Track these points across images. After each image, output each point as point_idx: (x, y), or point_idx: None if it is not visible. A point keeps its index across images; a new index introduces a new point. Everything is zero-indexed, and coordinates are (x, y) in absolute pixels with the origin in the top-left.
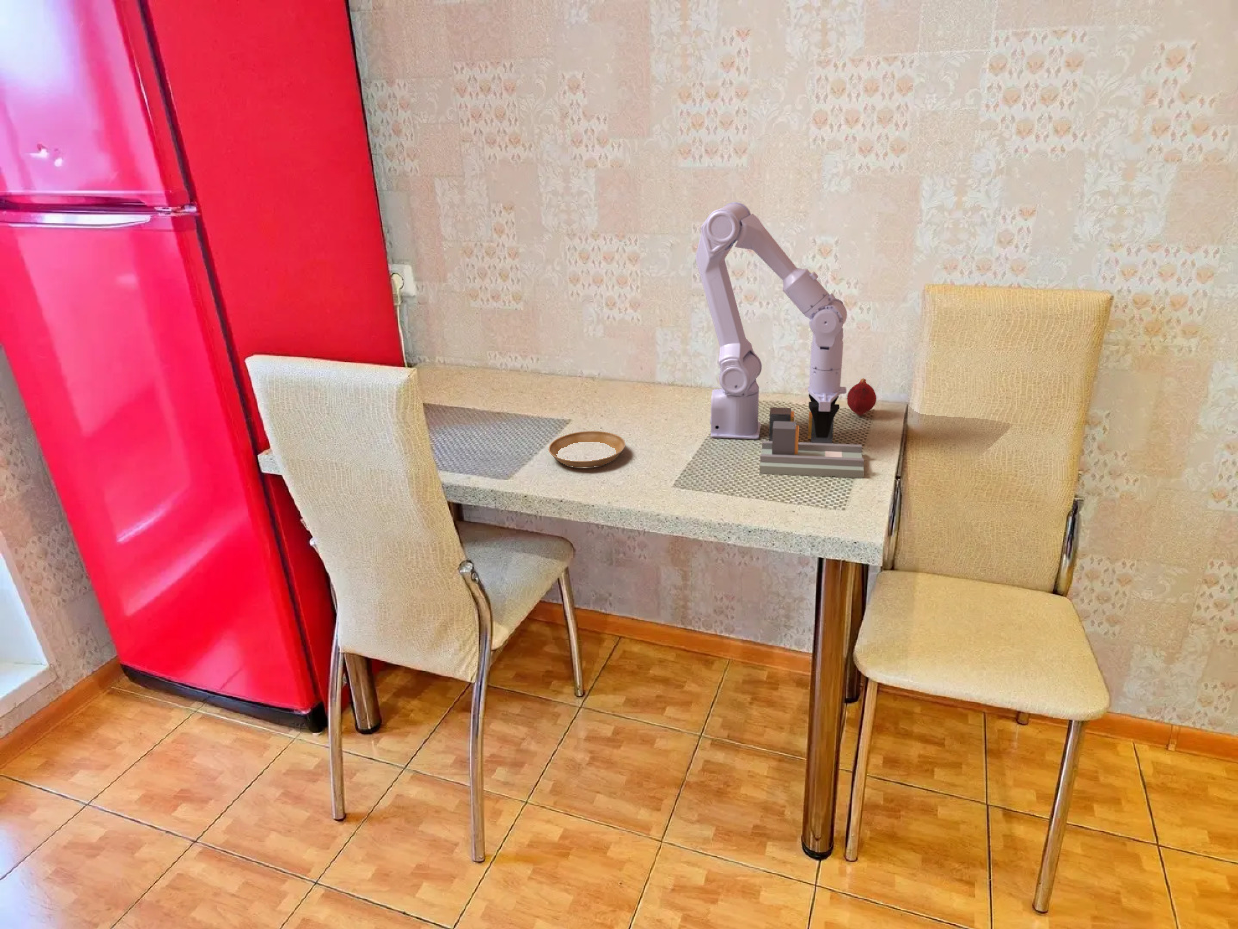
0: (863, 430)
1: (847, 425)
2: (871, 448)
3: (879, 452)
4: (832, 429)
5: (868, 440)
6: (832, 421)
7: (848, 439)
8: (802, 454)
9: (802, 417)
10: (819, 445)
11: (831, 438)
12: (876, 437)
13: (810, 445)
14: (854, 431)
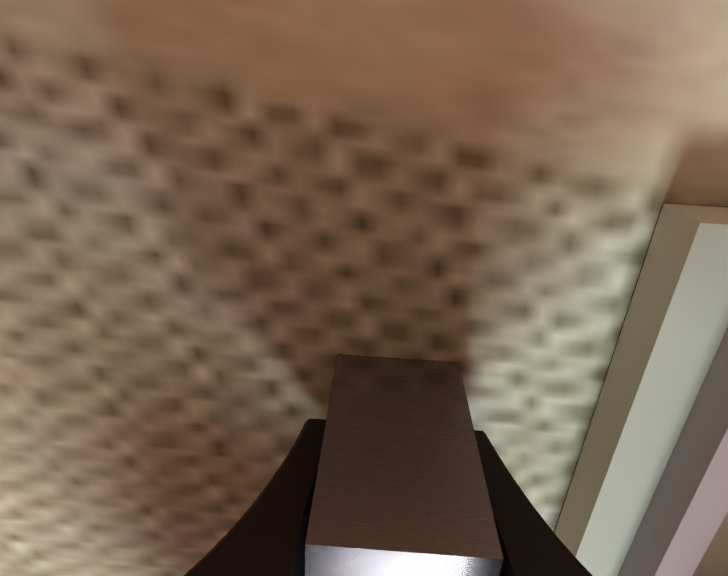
0: (164, 119)
1: (91, 233)
2: (548, 95)
3: (644, 32)
4: (475, 446)
5: (376, 101)
6: (490, 510)
7: (363, 254)
8: (718, 560)
9: (40, 471)
10: (717, 521)
11: (464, 396)
12: (304, 17)
13: (696, 560)
14: (200, 195)
